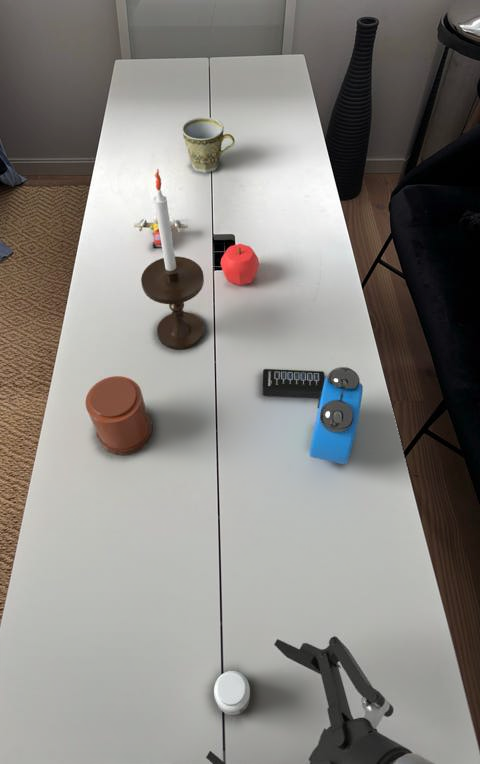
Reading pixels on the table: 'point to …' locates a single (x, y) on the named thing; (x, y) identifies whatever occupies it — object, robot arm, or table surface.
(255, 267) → the apple
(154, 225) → the toy airplane
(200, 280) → the candlestick
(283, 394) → the multiport hub
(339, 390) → the alarm clock
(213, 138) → the ceramic cup
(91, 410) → the brown cylindrical container
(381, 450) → the table surface
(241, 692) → the pill bottle
